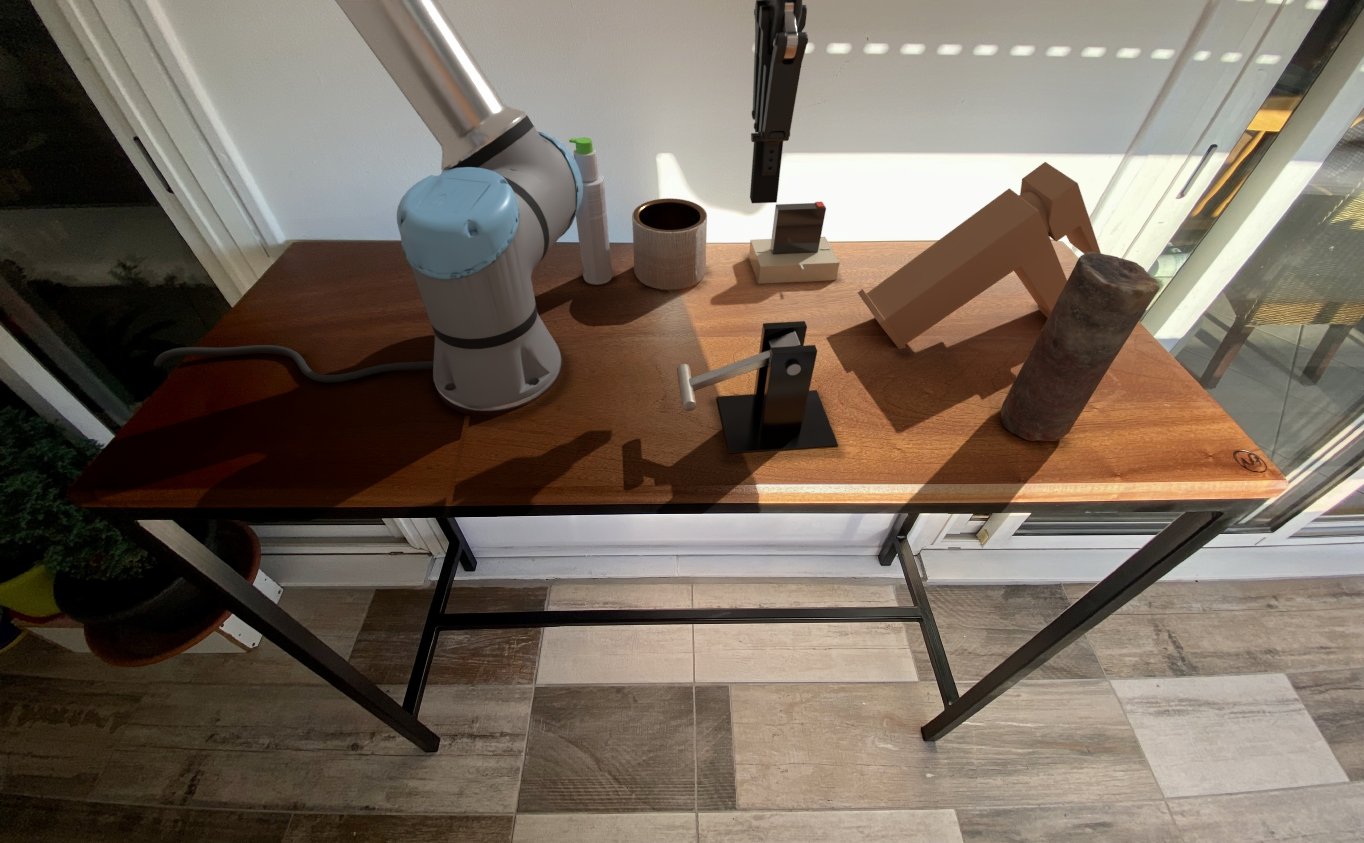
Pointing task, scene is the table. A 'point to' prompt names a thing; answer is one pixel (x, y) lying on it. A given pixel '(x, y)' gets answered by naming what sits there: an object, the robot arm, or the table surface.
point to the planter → (669, 243)
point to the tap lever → (726, 371)
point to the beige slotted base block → (792, 263)
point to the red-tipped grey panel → (797, 228)
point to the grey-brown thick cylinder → (1077, 345)
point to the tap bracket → (778, 401)
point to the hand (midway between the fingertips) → (763, 199)
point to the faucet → (988, 256)
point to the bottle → (592, 216)
